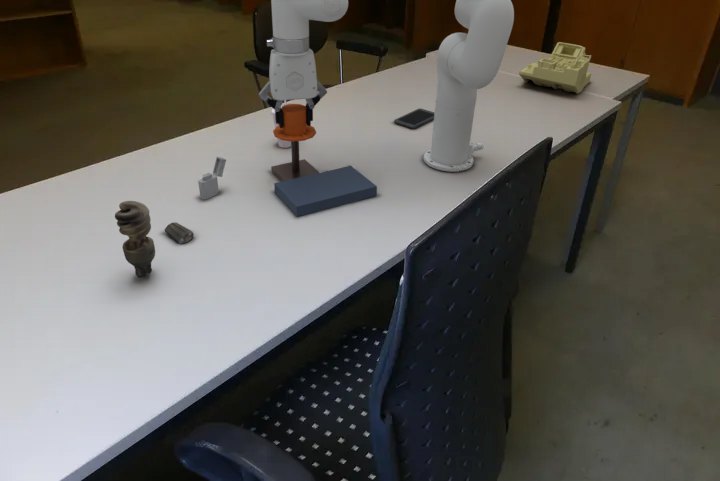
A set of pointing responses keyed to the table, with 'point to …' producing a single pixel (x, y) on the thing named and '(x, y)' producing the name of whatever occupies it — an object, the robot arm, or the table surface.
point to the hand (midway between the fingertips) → (294, 124)
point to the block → (179, 232)
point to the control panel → (561, 69)
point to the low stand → (324, 190)
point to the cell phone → (415, 118)
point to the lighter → (211, 180)
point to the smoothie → (280, 142)
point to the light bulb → (136, 236)
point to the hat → (294, 124)
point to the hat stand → (293, 166)
